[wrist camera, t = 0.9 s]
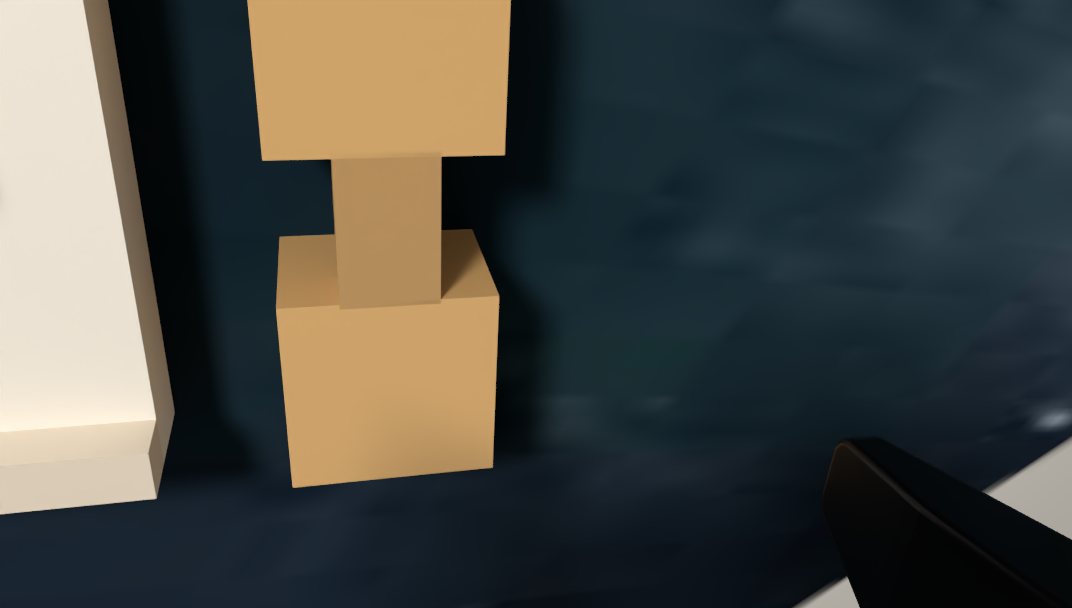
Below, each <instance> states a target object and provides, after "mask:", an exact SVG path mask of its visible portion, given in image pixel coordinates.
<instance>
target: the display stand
mask: <svg viewBox="0 0 1072 608" xmlns="http://www.w3.org/2000/svg"><path fill="white" fill-rule="evenodd" d="M174 414H175V411H174V405H173V399H172V393H171V386H170V380H169V374H168V368H167V362H166V356H165V350H164V343H163V337H162V331H161V325H160V319H159V313H158V306H157V300H156V294H155V288H154V282H153V276H152V270H151V263H150V257H149V251H148V245H147V239H146V233H145V226H144V220H143V214H142V208H141V202H140V196H139V190H138V183H137V177H136V171H135V165H134V159H133V153H132V146H131V140H130V134H129V128H128V122H127V116H126V110H125V103H124V97H123V91H122V85H121V79H120V73H119V66H118V60H117V54H116V48H115V42H114V36H113V30H112V23H111V17H110V11H109V5H108V0H0V514H8V513H18V512H28V511H38V510H48V509H58V508H68V507H78V506H88V505H98V504H108V503H118V502H128V501H138V500H148V499H157V494H158V489H159V485H160V480H161V475H162V471H163V466H164V461H165V456H166V452H167V447H168V442H169V437H170V433H171V428H172V423H173V419H174Z"/></svg>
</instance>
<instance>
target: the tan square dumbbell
mask: <svg viewBox="0 0 1072 608" xmlns="http://www.w3.org/2000/svg"><path fill="white" fill-rule="evenodd" d="M247 1H248V11H249V22H250V33H251V44H252V54H253V65H254V76H255V87H256V98H257V108H258V119H259V130H260V141H261V152H262V161H268V160H312V159H331V174H332V192H333V210H334V228H335V235H311V236H286V237H280V240H279V260H278V280H277V301H276V313H277V324H278V335H279V346H280V356H281V367H282V378H283V389H284V400H285V410H286V421H287V432H288V443H289V454H290V464H291V475H292V486H293V488H294V487H304V486H314V485H324V484H334V483H344V482H354V481H364V480H374V479H384V478H394V477H404V476H414V475H423V474H433V473H443V472H453V471H463V470H473V469H483V468H493V446H494V420H495V395H496V369H497V343H498V317H499V294H498V292H497V289H496V287H495V284H494V282H493V279H492V277H491V274H490V272H489V270H488V267H487V265H486V262H485V260H484V257H483V255H482V253H481V250H480V248H479V245H478V243H477V240H476V238H475V235H474V233H473V231H472V229H460V230H441V157H446V156H490V155H505V137H506V111H507V85H508V59H509V33H510V8H511V0H247Z"/></svg>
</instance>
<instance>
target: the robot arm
mask: <svg viewBox="0 0 1072 608" xmlns="http://www.w3.org/2000/svg"><path fill="white" fill-rule="evenodd" d="M822 511H823V516H824V519H825V522H826V524H827V527H828V529H829V532H830V534H831V537H832V539H833V542H834V544H835V547H836V549H837V552H838V554H839V557H840V559H841V562H842V564H843V567H844V569H845V572H846V574H847V577H848V579H849V582H850V584H851V587H852V589H853V592H854V594H855V597H856V599H857V601H858V604H859V607H860V608H1072V540H1071V539H1069V538H1067V537H1065V536H1064V535H1062V534H1060V533H1058V532H1056V531H1054V530H1053V529H1051V528H1048V527H1047V526H1045V525H1043V524H1041V523H1039V522H1038V521H1035V520H1034V519H1032V518H1030V517H1028V516H1026V515H1024V514H1023V513H1021V512H1019V511H1017V510H1015V509H1013V508H1011V507H1009V506H1008V505H1005V504H1004V503H1002V502H1000V501H998V500H996V499H994V498H993V497H991V496H989V495H987V494H985V493H983V492H981V491H980V490H978V489H976V488H974V487H972V486H970V485H968V484H966V483H965V482H963V481H961V480H959V479H957V478H955V477H953V476H952V475H950V474H948V473H946V472H944V471H942V470H940V469H938V468H937V467H935V466H933V465H931V464H929V463H927V462H925V461H923V460H922V459H920V458H918V457H916V456H914V455H912V454H910V453H909V452H907V451H905V450H903V449H901V448H899V447H897V446H895V445H894V444H892V443H890V442H888V441H886V440H884V439H882V438H880V437H877V436H863V437H851V438H845V439H843V440H841V441H840V442H839V443H838V444H837V445H836V448H835V450H834V454H833V457H832V461H831V464H830V468H829V472H828V475H827V479H826V483H825V486H824V490H823V494H822Z"/></svg>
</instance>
